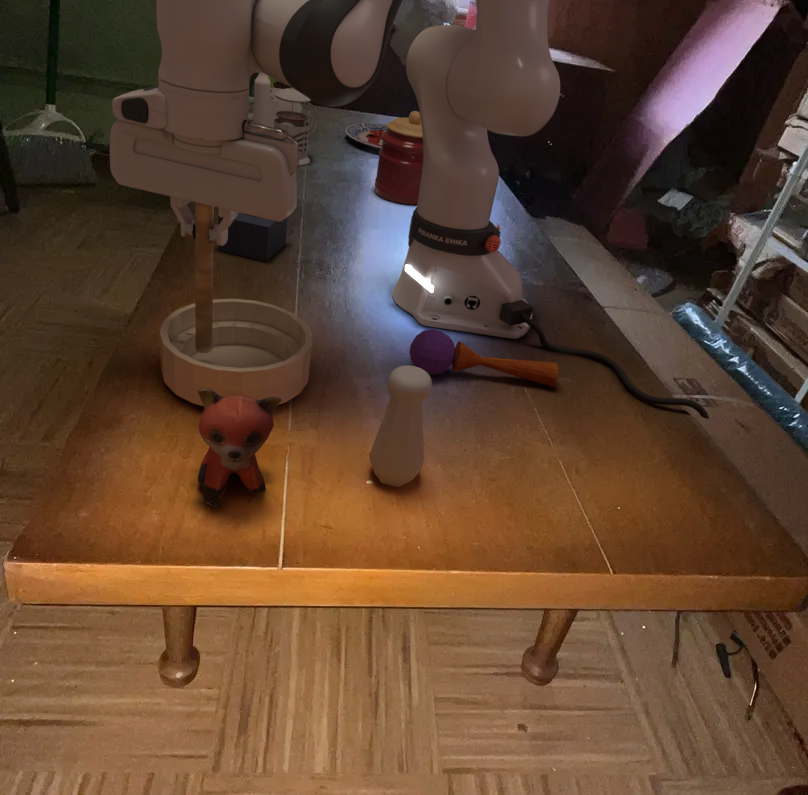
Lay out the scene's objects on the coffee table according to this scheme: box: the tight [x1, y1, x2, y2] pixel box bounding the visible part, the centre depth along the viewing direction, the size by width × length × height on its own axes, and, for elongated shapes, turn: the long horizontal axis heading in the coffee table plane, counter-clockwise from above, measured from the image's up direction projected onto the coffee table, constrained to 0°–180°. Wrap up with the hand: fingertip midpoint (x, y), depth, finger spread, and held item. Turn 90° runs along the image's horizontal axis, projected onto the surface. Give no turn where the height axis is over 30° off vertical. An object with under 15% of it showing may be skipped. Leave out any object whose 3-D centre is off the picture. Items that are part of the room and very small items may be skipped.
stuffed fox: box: [197, 389, 282, 508], centre depth 71 cm, size 8×11×12 cm
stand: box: [217, 212, 288, 263], centre depth 122 cm, size 9×9×6 cm
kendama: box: [409, 328, 559, 388], centre depth 98 cm, size 6×6×20 cm
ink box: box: [267, 75, 303, 138], centre depth 183 cm, size 10×5×14 cm, turn 94°
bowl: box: [159, 298, 313, 407], centre depth 89 cm, size 18×18×6 cm
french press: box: [274, 87, 319, 166], centre depth 163 cm, size 10×12×25 cm
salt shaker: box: [369, 365, 433, 488], centre depth 75 cm, size 6×6×13 cm
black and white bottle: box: [252, 73, 271, 127], centre depth 138 cm, size 5×5×25 cm
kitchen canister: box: [374, 110, 423, 205], centre depth 155 cm, size 13×13×18 cm
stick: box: [194, 202, 215, 353], centre depth 84 cm, size 2×2×22 cm
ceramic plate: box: [344, 122, 388, 151], centre depth 193 cm, size 26×26×3 cm
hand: (204, 239), depth 82 cm, fingers closed on stick, 2 cm apart
